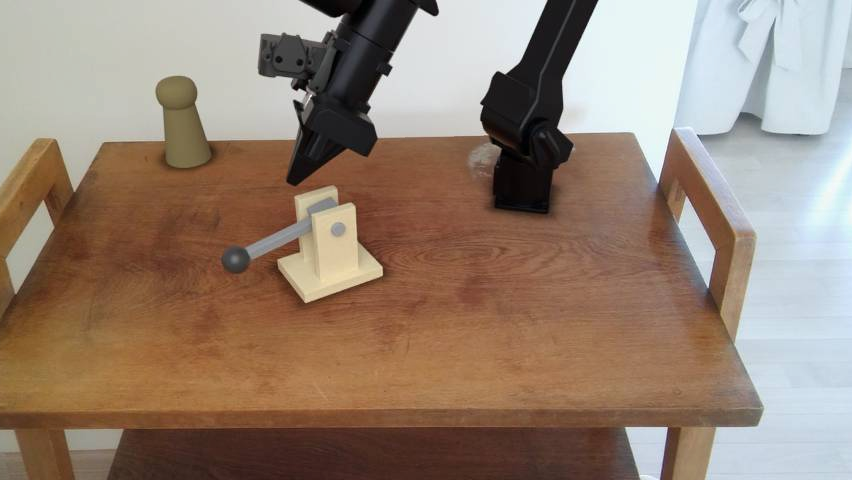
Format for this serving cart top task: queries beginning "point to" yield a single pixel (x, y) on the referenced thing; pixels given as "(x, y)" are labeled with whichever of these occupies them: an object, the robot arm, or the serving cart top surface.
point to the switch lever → (271, 241)
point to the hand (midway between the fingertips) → (290, 183)
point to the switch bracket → (328, 250)
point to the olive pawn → (182, 123)
